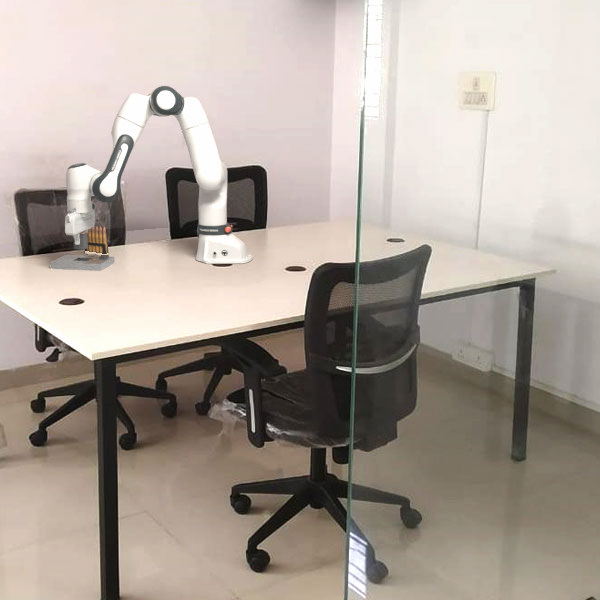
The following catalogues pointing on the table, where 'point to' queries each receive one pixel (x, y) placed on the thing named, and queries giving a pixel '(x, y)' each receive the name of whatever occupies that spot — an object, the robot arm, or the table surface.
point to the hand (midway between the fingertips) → (80, 243)
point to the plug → (82, 241)
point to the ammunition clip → (97, 241)
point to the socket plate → (82, 262)
